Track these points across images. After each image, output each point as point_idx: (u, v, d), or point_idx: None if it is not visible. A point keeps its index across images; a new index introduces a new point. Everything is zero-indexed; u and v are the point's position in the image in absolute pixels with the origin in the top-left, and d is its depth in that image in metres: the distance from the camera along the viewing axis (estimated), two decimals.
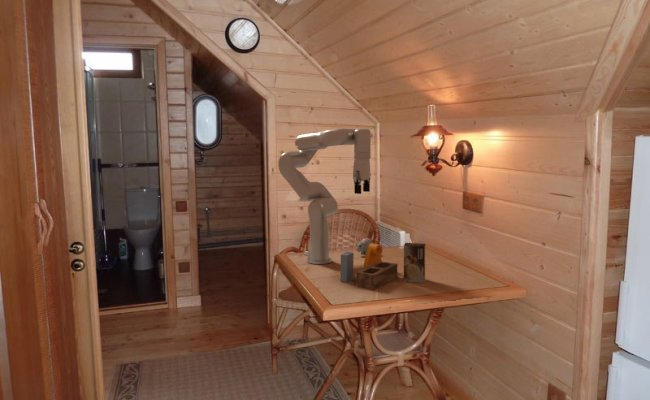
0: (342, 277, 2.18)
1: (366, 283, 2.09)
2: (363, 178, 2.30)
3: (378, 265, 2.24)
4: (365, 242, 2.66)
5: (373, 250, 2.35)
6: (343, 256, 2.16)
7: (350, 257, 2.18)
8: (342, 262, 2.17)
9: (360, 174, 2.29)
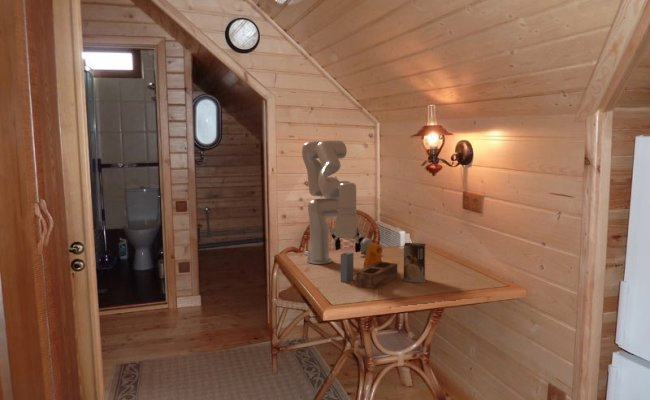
0: (342, 277, 2.18)
1: (366, 283, 2.09)
2: None
3: (378, 265, 2.24)
4: (365, 242, 2.66)
5: (373, 250, 2.35)
6: (343, 256, 2.16)
7: (350, 257, 2.18)
8: (342, 262, 2.17)
9: None
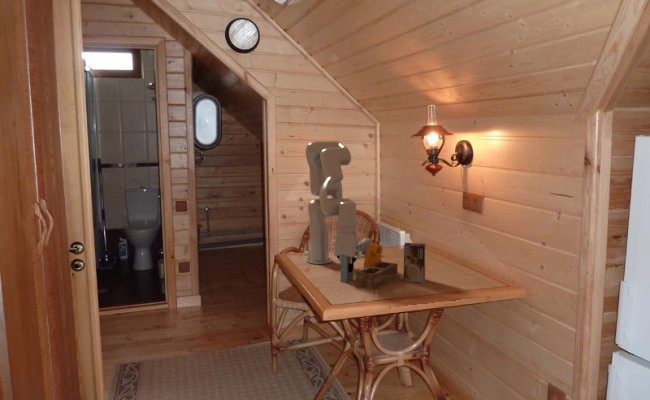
0: (342, 277, 2.18)
1: (366, 283, 2.09)
2: None
3: (378, 265, 2.24)
4: (365, 242, 2.66)
5: (373, 250, 2.35)
6: (343, 256, 2.16)
7: None
8: (342, 262, 2.17)
9: (358, 249, 2.17)
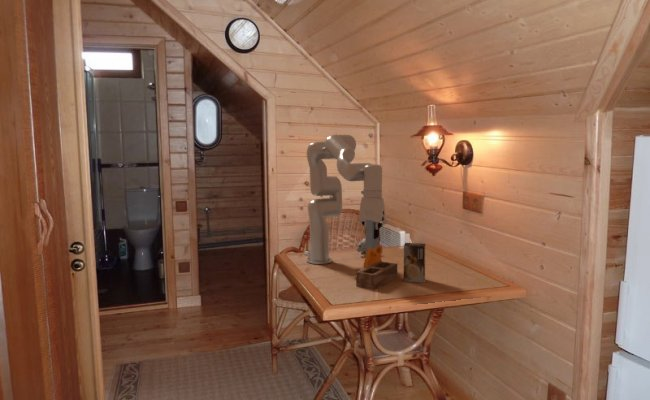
0: (367, 243, 2.09)
1: (366, 283, 2.09)
2: None
3: (378, 265, 2.24)
4: (365, 242, 2.66)
5: (373, 250, 2.35)
6: (368, 222, 2.08)
7: None
8: (367, 228, 2.08)
9: (384, 214, 2.08)
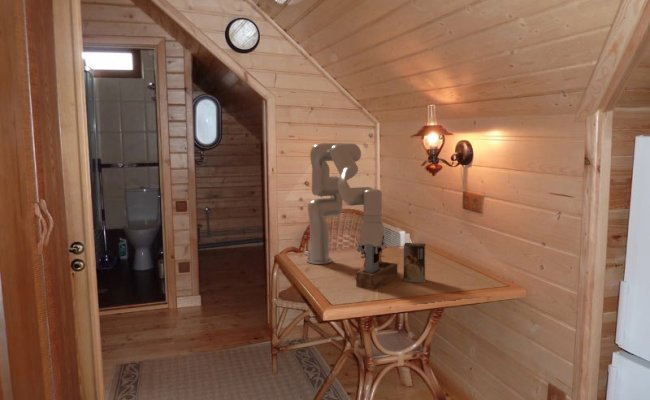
0: (367, 268, 2.10)
1: (366, 283, 2.09)
2: None
3: (378, 265, 2.24)
4: None
5: None
6: (368, 246, 2.09)
7: None
8: (367, 252, 2.10)
9: (384, 238, 2.10)
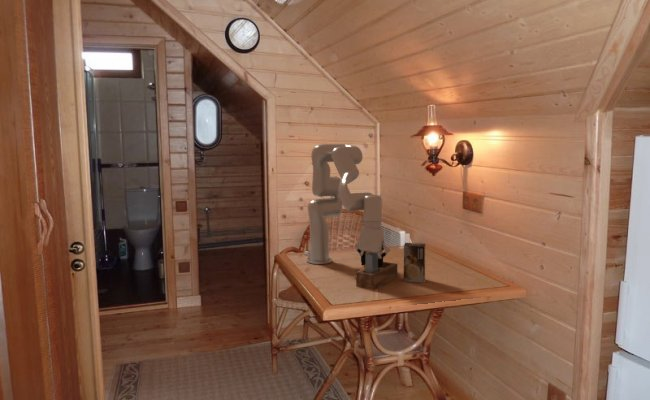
0: None
1: (366, 283, 2.09)
2: None
3: None
4: None
5: None
6: (368, 256, 2.10)
7: (375, 257, 2.12)
8: (367, 262, 2.10)
9: None
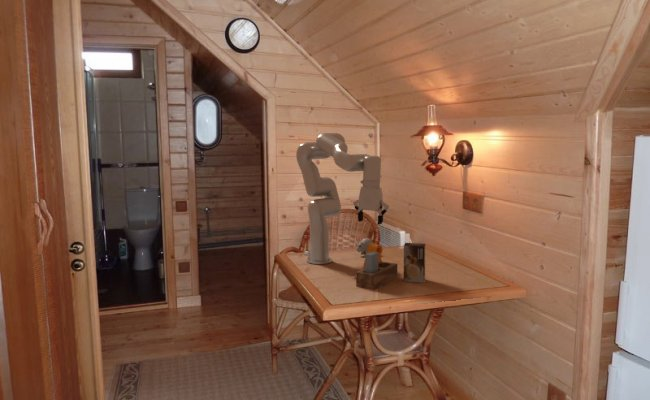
0: None
1: (366, 283, 2.09)
2: None
3: (378, 265, 2.24)
4: (365, 242, 2.66)
5: (373, 250, 2.35)
6: (368, 256, 2.10)
7: (375, 257, 2.12)
8: (367, 262, 2.10)
9: None
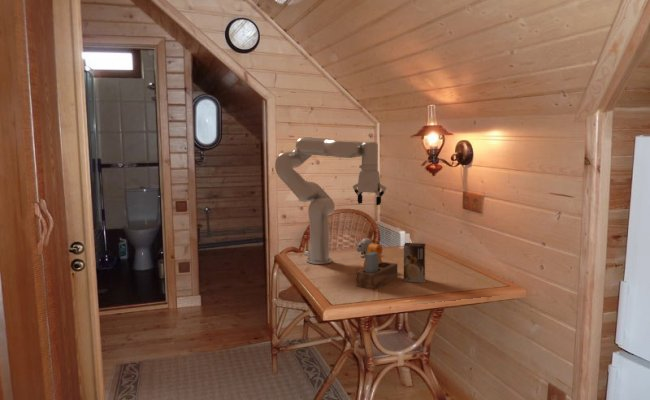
0: None
1: (366, 283, 2.09)
2: None
3: (378, 265, 2.24)
4: (365, 242, 2.66)
5: (373, 250, 2.35)
6: (368, 256, 2.10)
7: (375, 257, 2.12)
8: (367, 262, 2.10)
9: None
